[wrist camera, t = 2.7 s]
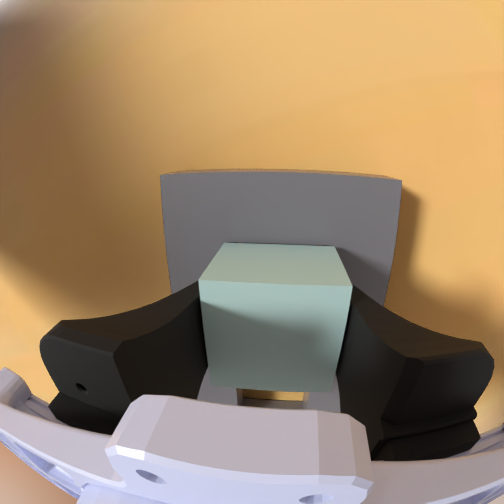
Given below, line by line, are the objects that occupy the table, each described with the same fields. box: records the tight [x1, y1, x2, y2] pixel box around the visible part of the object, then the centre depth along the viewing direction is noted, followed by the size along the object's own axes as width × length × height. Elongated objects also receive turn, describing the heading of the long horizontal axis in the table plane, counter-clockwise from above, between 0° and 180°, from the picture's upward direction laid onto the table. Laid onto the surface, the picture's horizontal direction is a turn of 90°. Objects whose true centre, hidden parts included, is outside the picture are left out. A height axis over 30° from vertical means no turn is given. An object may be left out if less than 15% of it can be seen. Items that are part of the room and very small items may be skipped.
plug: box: [198, 243, 353, 392], centre depth 11 cm, size 4×4×6 cm
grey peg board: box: [160, 169, 402, 413], centre depth 14 cm, size 18×10×2 cm, turn 1°
